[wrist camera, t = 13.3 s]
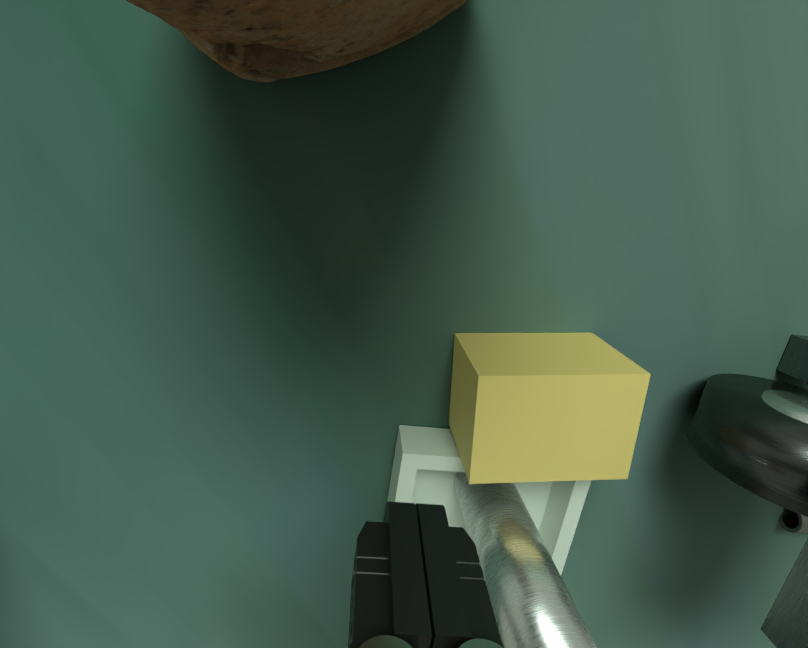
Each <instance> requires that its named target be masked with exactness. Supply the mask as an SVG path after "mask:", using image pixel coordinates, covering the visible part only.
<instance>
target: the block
mask: <svg viewBox="0 0 808 648" xmlns="http://www.w3.org/2000/svg"><path fill="white" fill-rule="evenodd" d="M126 1H128V2H130V3H132V4H134V5H136V6H138V7H140V8H142V9H144V10H146V11H148V12H150V13H152V14H154V15H156V16H157V17H159V18H160V19H162V20H163V21H165V22H166V23H168V24H169V25H171V26H173V27H174V28H178V29H179V30H180V31H181V32H182V33H183V35H184V36H185V37H186V38H187V39H188V40H189V41H190V42H191V43H192V44H193V45H194V46H195V47H197V48H198V49H199V50H200V51H201V52H203V53H204V54H206V55H207V56H208V57H210V58H211V59H212V60H214V61H215V62H217V63H218V64H219V65H221V66H222V67H223V68H225V69H226V70H228V71H230V72H231V73H233V74H235V75H236V76H238V77H240V78H243V79H246V80H251V81H256V82H267V83H270V82H273V81H276V80H279V79H282V78H284V79H288V78H293V77H298V76H304V75H309V74H314V73H319V72H323V71H326V70H330V69H333V68H337V67H340V66H343V65H346V64H349V63H352V62H354V61H358V60H361V59H364V58H367V57H369V56H372V55H375V54H377V53H380V52H382V51H384V50H386V49H389V48H391V47H393V46H395V45H397V44H399V43H401V42H403V41H406V40H408V39H410V38H412V37H413V36H415V35H417V34H419V33H421V32H422V31H424V30H426V29H428V28H430V27H431V26H433V25H434V24H436V23H437V22H439V21H440V20H442V19H443V18H445V17H446V16H447V15H449V14H450V13H452V12H453V11H455V10H456V9H457V8H459V7H460V6H462V5H463V4H464V3H465V2H466V1H467V0H126Z"/></svg>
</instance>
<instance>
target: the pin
mask: <svg viewBox="0 0 808 648" xmlns="http://www.w3.org/2000/svg"><path fill="white" fill-rule="evenodd" d="M454 488H455V491H456V494H457V498H458V501H459V504H460V507H461V511H462V514H463V517H464V521H465V524H466V527H467V530H468V534H469V536H470V538H471V539H472V540H473V542H474V543H475V545H476V549H477V553H478V556H479V560H480V565H481V567H482V571H483V575H484V581H485V582H486V586H487V590H488V593H489V597H490V601H491V604H492V608H493V612H494V615H495V619H496V623H497V626H498V630H499V634H500V637H501V641H502V643H503V646H504V648H597V647H596V645H595V643H594V641H593V639H592V637H591V635H590V633H589V631H588V629H587V627H586V625H585V623H584V621H583V619H582V617H581V615H580V613H579V611H578V609H577V607H576V605H575V603H574V601H573V599H572V597H571V595H570V593H569V591H568V589H567V587H566V585H565V583H564V581H563V579H562V577H561V575H560V573H559V571H558V569H557V567H556V566H555V564H554V562H553V560H552V558H551V556H550V554H549V552H548V550H547V548H546V546H545V544H544V542H543V540H542V538H541V536H540V534H539V532H538V530H537V528H536V526H535V524H534V522H533V520H532V518H531V516H530V514H529V512H528V510H527V508H526V506H525V504H524V502H523V500H522V498H521V496H520V494H519V492H518V490H517V488H516V486H515V484H514V483H485V484H469V482H468V479H467V476H466V473H465V472H457V473H456V475H455V479H454Z"/></svg>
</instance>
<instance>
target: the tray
mask: <svg viewBox="0 0 808 648" xmlns="http://www.w3.org/2000/svg"><path fill="white" fill-rule="evenodd" d="M457 472H465V470H464V467H463V464H462V461H461V458H460V455H459V452H458V449H457V446H456V443H455V440H454V437H453V434H452V431H451V429H444V428H432V427H419V426H407V425H399V428H398V435H397V441H396V448H395V454H394V460H393V467H392V473H391V480H390V486H389V493H388V499H387V502H388V501H390V502H405V503H415V504H416V503H421V504H436V505H444V507H445V510H446V515H447V520H448V525H449V527H463V528H464V529H465V531H466V532H467V533H468V530H467V527H466V524H465V521H464V517H463V514H462V511H461V507H460V504H459V501H458V498H457V494H456V491H455V488H454V479H455V475H456V473H457ZM590 483H591V480H578V481H547V482H516V483H514V484H515V486H516V488H517V490H518V492H519V494H520V496H521V498H522V500H523V502H524V504H525V506H526V508H527V510H528V512H529V514H530V516H531V518H532V520H533V522H534V524H535V526H536V528H537V530H538V532H539V534H540V536H541V538H542V540H543V542H544V544H545V546H546V548H547V550H548V552H549V554H550V556H551V558H552V560H553V562H554V564H555V566H556V567H557V569H558V571H559V573H560V575H561V574H562V571H563V567H564V564H565V561H566V558H567V555H568V552H569V549H570V546H571V542H572V539H573V536H574V533H575V530H576V527H577V524H578V521H579V517H580V514H581V511H582V508H583V505H584V502H585V499H586V496H587V492H588V489H589V486H590ZM468 535H469V534H468Z"/></svg>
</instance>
